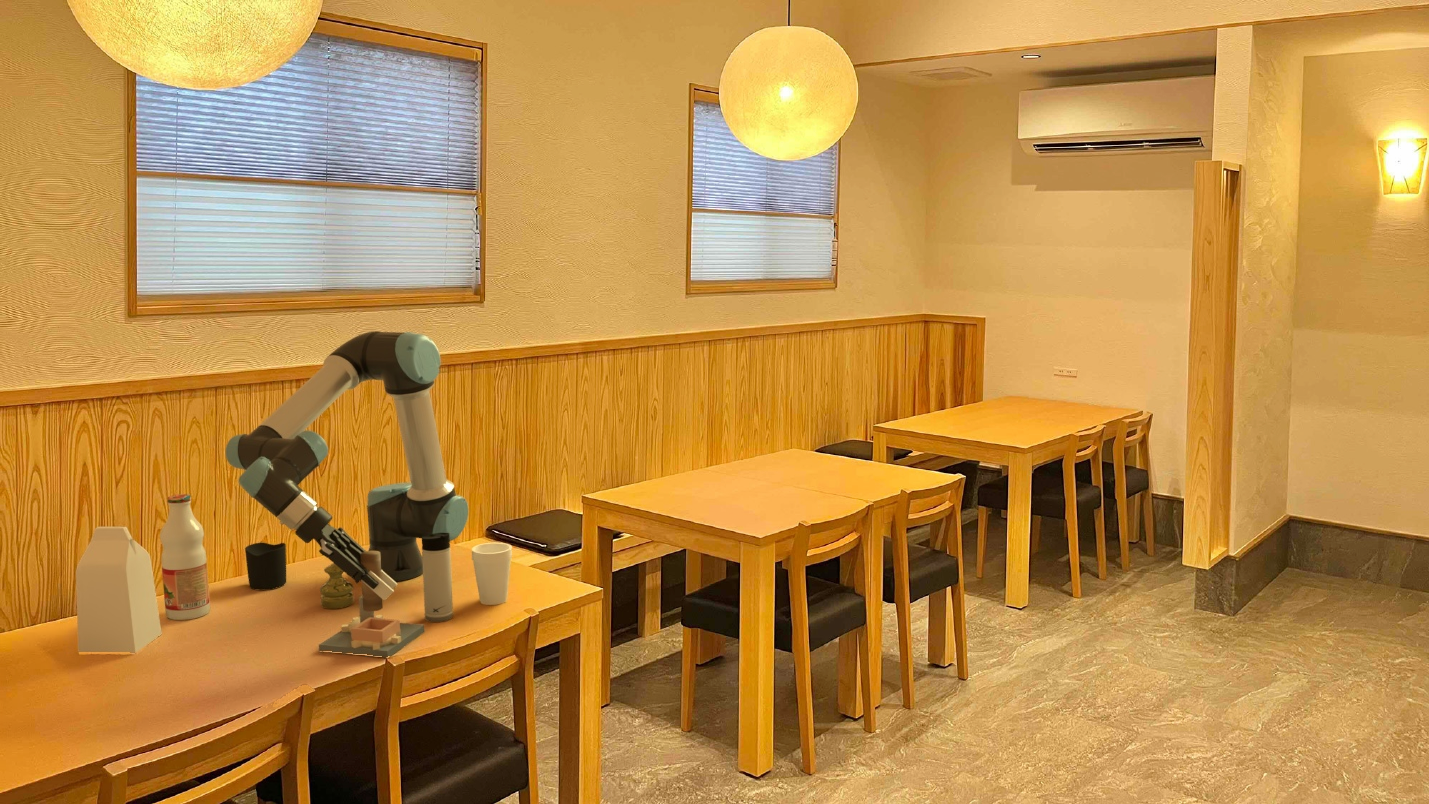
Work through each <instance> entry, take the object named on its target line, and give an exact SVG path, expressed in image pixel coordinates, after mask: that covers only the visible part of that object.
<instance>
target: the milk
mask: <svg viewBox="0 0 1429 804" xmlns="http://www.w3.org/2000/svg"><path fill="white" fill-rule="evenodd" d="M154 578H155V577H154V573H153V565H152V558H151V555H150V553H149V552H148V551H147V549H145V548H144V547H143V546H142V545H140V543H138V542H137V541H136V540H135V539H134V538H133V537H132V534H131V533H130V531H129V529H128V528H127V526H97V527H95V528H94V531H93V533H92V536H91V539H90V541H89V543H88V545H87V546H86V549H85V550H84V552H83V554H82V556H81V558H80V559H79V562H78V563H77V566H76V570H75V585H76V589H75V591H76V617H77V618H76V619H77V620H76V621H77V623H76V624H77V646H78V647H77V649H78V650H77V653H78V652H130V653H136V652H137V651H139V650H140V649H142V648H143V647H144V646H146V645H147V644H149V643H150V642H151V641H153V640H154V639H156V638H157V637H158V636H160V635H161V634H162V627H161V621H160V613H159V612H160V611H159V606H158V600H157V594H156V592H157V591H156V586H155V585H156V584H155V579H154ZM162 635H163V634H162ZM162 635H161V636H162ZM161 636H160V637H161ZM157 639H158V638H157ZM157 639H156V640H157ZM153 642H154V641H153ZM149 645H150V644H149Z"/></svg>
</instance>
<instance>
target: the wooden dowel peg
mask: <svg viewBox="0 0 1429 804" xmlns="http://www.w3.org/2000/svg"><path fill="white" fill-rule="evenodd" d="M360 555H361V564H362V565H363V566H364V567H365V568H366V569H367V570H368V571H370V570H371V571H372V572H373V573H374V574H376V575H377V576H378V577H379V578H380V579H381V556H380V552H379V551H368V550H366V552H362V553H361V554H360ZM381 580H382V579H381ZM361 591H362V594H361V596H362V597H363V610H364V611H374V612H377V611H381V610H382V609H383V608H384V607H383V605H384V603H383V601H384V600H383V599H382V598H381V597H379V596H378V595H377V594H376V593H375V592H374V591H373V590H371V589H370V588H369V587H368V586H367V585H366V584H365V583H363V582H362V581H361Z"/></svg>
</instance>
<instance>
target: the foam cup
mask: <svg viewBox="0 0 1429 804" xmlns="http://www.w3.org/2000/svg"><path fill="white" fill-rule="evenodd" d="M512 558H513V546H512V545H511V544H510V543H505V542H486V543H481V544H477V545H475V546H473V547H471V560H472V562H473V568H474V574H475V579H476V585H477V591H478V596H479V601H480V603H481V604H483V605H487V606H489V605H490V606H496V605H501V604H505V603H506V602H507V601H508V592H509V582H510V573H511V562H512Z"/></svg>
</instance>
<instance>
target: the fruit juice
mask: <svg viewBox="0 0 1429 804" xmlns="http://www.w3.org/2000/svg"><path fill="white" fill-rule="evenodd" d="M191 503H192V496H191V494H188V493H187V494H185V493H181V494H180V493H179V494H173V495H170V496H169V495H168V496H167V504H168V506H169V511H168V516H167V519H166V522H165V523H164V525H163V526H161V527H162V528H161V529H160V531H159V532H160V533H159V538H160V542H161V545H162V553H161V556H160V557H161V558H160V559H161V562H160V563H161V564H160V565H161V572H162V573H161V574H162V585H163V600H164V609H165V616H166V617H167V618H168V619H169V620H173V621H187V620H193V619H197V618H201V617H203V616H205V615H207V614H208V613H210V610H211V603H210V602H211V600H210V590H209V589H210V588H209V577H208V576H209V574H208V563H207V562H208V561H207V560H208V559H207V552H206V548H205V547H204V545H203V542H204V536H205V532H204V528H203V527H204V526H203V525H202V524H201V523H200V521H198V519H197V518H196V517H195V515H194V513H193V510H192V508H191Z"/></svg>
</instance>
